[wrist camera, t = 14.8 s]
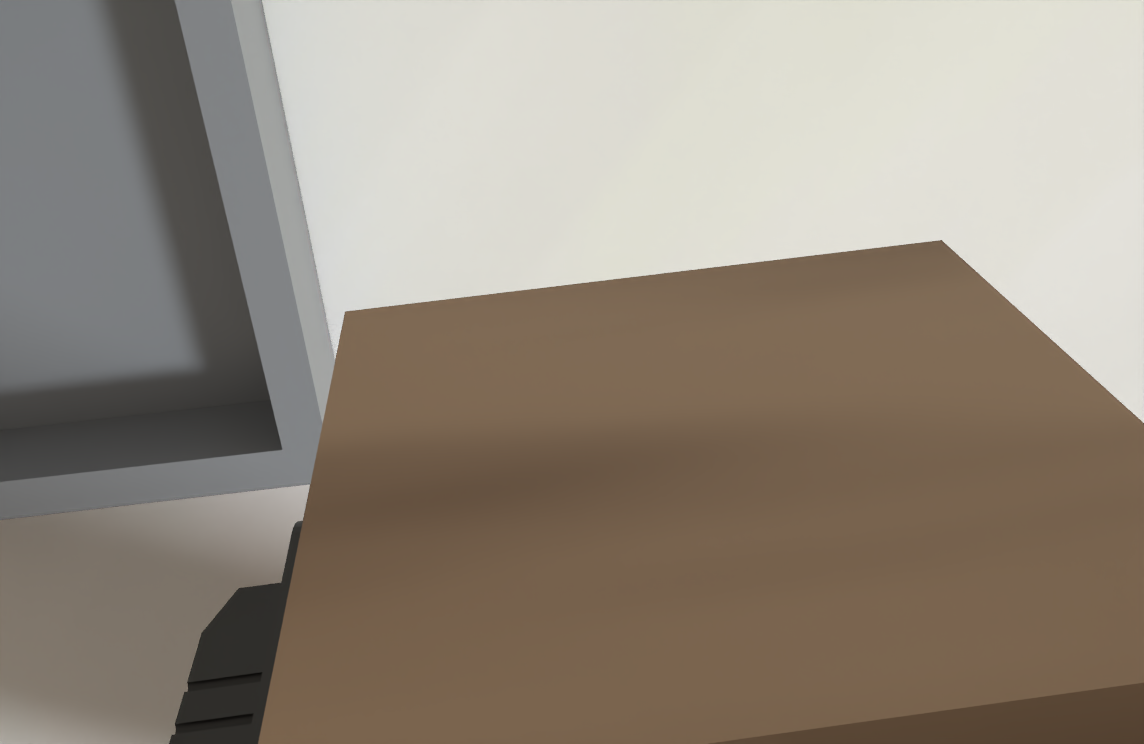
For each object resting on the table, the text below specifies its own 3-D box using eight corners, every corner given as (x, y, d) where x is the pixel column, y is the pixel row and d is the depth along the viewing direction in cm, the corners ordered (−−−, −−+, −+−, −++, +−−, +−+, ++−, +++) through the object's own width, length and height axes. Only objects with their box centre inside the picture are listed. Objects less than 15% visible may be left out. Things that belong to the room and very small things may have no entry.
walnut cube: (907, 683, 12) (1188, 1230, 7) (434, 749, 11) (424, 1356, 7) (941, 239, 9) (1391, 648, 5) (346, 312, 9) (243, 808, 5)
